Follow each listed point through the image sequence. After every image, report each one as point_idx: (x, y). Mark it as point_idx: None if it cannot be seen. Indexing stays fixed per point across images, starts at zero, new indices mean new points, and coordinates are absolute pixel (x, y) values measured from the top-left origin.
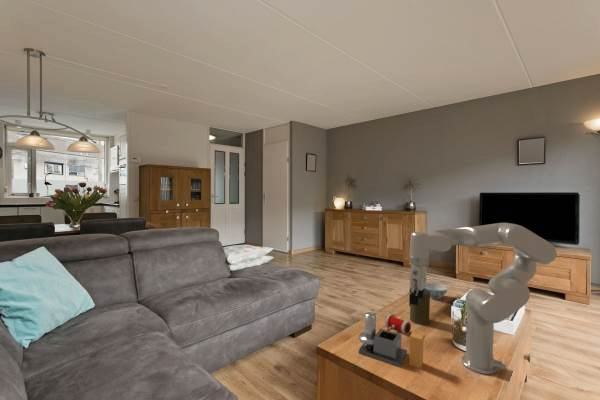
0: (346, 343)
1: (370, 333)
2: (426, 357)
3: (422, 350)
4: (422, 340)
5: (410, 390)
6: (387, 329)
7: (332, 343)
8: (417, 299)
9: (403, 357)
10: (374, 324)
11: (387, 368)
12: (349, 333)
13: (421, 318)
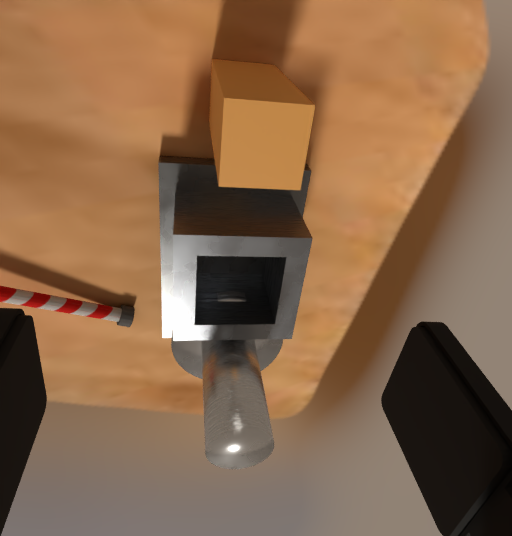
0: None
1: (257, 358)
2: (131, 41)
3: (247, 77)
4: (271, 96)
5: (470, 92)
6: (8, 298)
7: None
8: (495, 397)
9: None
10: (250, 386)
11: (341, 210)
12: (143, 395)
13: None
